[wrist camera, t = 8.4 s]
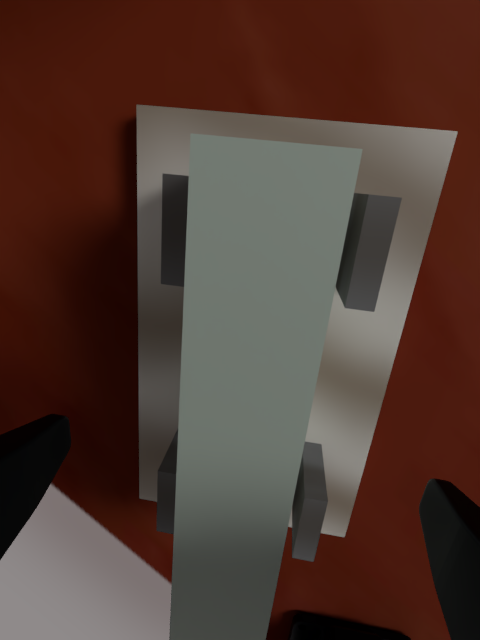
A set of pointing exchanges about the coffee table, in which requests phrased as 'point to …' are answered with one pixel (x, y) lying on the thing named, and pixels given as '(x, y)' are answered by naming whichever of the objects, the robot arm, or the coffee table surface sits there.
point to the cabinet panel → (346, 312)
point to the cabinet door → (249, 366)
